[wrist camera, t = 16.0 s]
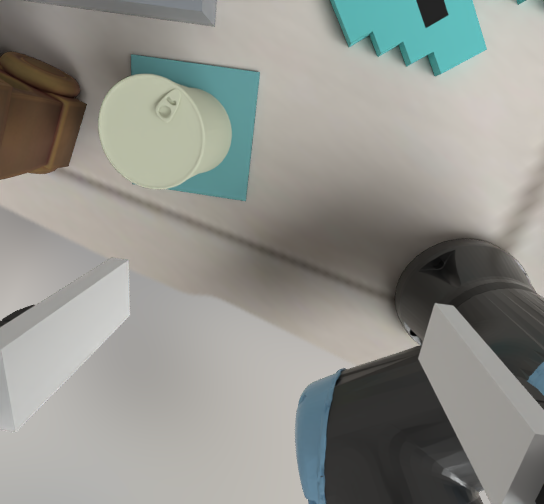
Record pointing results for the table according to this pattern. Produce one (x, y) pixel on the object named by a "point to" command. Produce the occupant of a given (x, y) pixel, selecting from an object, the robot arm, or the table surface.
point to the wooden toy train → (36, 116)
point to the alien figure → (415, 28)
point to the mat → (241, 111)
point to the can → (162, 131)
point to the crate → (150, 8)
